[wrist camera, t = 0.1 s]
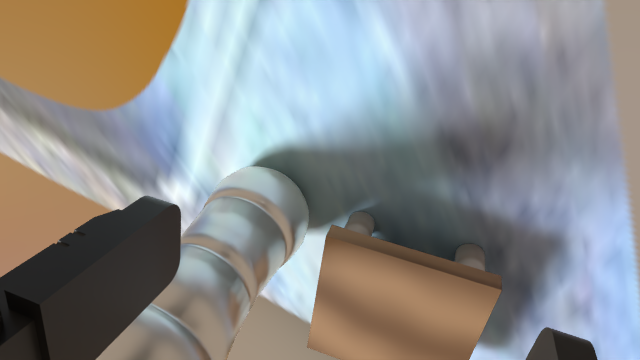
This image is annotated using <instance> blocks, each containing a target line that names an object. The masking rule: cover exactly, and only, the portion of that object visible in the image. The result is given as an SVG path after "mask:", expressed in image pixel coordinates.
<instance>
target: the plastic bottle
mask: <svg viewBox="0 0 640 360" xmlns="http://www.w3.org/2000/svg"><path fill="white" fill-rule="evenodd" d="M308 224H309V210H308V206H307V203H306V200H305V198H304V196H303V194H302V192H301V191H300V189H299V188H298V187H297V185H296V184H295V183H294V182H293V181H292V180H291V179H290V178H289V177H287V176H286V175H284V174H282V173H280V172H278V171H276V170H273V169H270V168H266V167H258V166H251V167H245V168H242V169H240V170H238V171H236V172H234V173H233V174H231V175H229V176H227V177H226V178H224V179H223V180H222V181H221V182H220V183H219V184H218V185H217V187H216V188H215V190H214V191H213V192H212V194H211V195H210V197H209V198H208V200H207V202H206V204H205V206H204V208H203V210H202V211H201V212H200V213H199V215H198V216H197V217H196V218H195V220H194V221H193V222H192V223H191V225H190V226H189V227H188V228H187V230H186V231H185V232H184V233H183V235H182V236H181V250H180V264H179V268H178V271H177V273H176V275H175V277H174V279H173V280H172V282H171V283H170V284H169V285H168V286H167V287H166V288H165V289H164V290H163V291H162V292H161V293H160V294H159V295H158V296H157V297H156V298H155V300H154V301H153V302H152V303H151V304H150V305H149V306H148V307H147V308H146V309H145V310H144V311H143V312H142V313H141V314H140V315H139V316H138V317H137V318H136V319H135V320H134V321H133V322H132V323H131V324H130V325H129V326H128V327H127V328H126V329H125V330H124V331H123V332H122V333H121V334H120V335H119V336H118V337H117V338H116V339H115V340H114V341H113V342H112V343H111V344H110V345H109V346H108V347H107V348H106V349H105V350H104V351H103V352H102V353H101V355H100V356H99V357H98V358H97V359H96V360H227V357H228V355H229V352H230V350H231V348H232V345H233V343H234V340H235V338H236V336H237V334H238V332H239V330H240V328H241V326H242V324H243V322H244V321H245V319H246V317H247V315H248V312H249V311H250V309H251V308H252V306H253V304H254V302H255V300H256V298H257V297H258V295H259V294H260V293H261V291H262V290H263V289H264V287H265V286H266V285H267V283H268V282H269V281H270V280H271V278H272V277H273V276H274V274H275V273H276V272H277V270H278V269H279V268H280V267H281V266H282V265H284V264H285V263H286V262H287V261H288V260H289V259H290V258H291V257H292V256H293V254H294V253H295V252H296V251H297V250H298V249H299V247H300V246H301V244H302V243H303V240H304V237H305V234H306V231H307V227H308Z"/></svg>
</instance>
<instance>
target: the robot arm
mask: <svg viewBox="0 0 640 360" xmlns="http://www.w3.org/2000/svg"><path fill="white" fill-rule="evenodd" d="M180 250H181V212H180V209H179V207H178V206H177V205H175V204H172V203H169V202H166V201H163V200H160V199H156V198H153V197H150V196H143V197H141V198H140V199H138V200H137V201H135V202H134V203H132V204H131V205H129V206H128V207H126V208H125V209H123V210H119V209H118V210H115V211H112V212H109V213H106V214H103V215H100V216H97V217H94V218H92V219H91V220H89V221H88V222H86V223H85V224H83V225H81V226H80V227H78V228H77V229H75V230H74V233H69V234H68V235H66V236H64V237H63V238H61V239H60V240H58V242H57V244H52V245H50V246H49V247H47V248H46V249H44V250H42V251H41V252H40V253H38V254H36V255H35V256H33V257H32V258H30V259H28V260H27V261H25V262H24V263H22V264H21V265H19V266H18V267H16V268H14V269H13V270H11V271H10V272H8V273H7V274H5V275H4V276H2V277H0V360H96V359H97V358H98V357H99V356H100V355H101V353H102V352H103V351H104V350H105V349H106V348H107V347H108V346H109V345H110V344H111V343H112V342H113V341H114V340H115V339H116V338H117V337H118V336H119V335H120V334H121V333H122V332H123V331H124V330H125V329H126V328H127V327H128V326H129V325H130V324H131V323H132V322H133V321H134V320H135V319H136V318H137V317H138V316H139V315H140V314H141V313H142V312H143V311H144V310H145V309H146V308H147V307H148V306H149V305H150V304H151V303H152V302H153V301H154V300H155V298H156V297H157V296H158V295H159V294H160V293H161V292H162V291H163V290H164V289H165V288H166V287H167V286H168V285H169V284H170V283H171V282H172V280H173V279H174V277H175V275H176V273H177V271H178V268H179V264H180ZM526 360H597V356H596V353H595V350H594V347H593V345H592V344H591V342H590V341H588V340H585V339H582V338H579V337H575V336H572V335H569V334H566V333H563V332H560V331H557V330H554V329H551V328H548V327H547V328H544V329H543V330H542V331H541V332H540V334H539V336H538V338H537V339H536V341H535V343H534V345H533V347H532V349H531V350H530V352H529V354H528V356H527V358H526Z"/></svg>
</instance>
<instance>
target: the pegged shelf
mask: <svg viewBox="0 0 640 360" xmlns="http://www.w3.org/2000/svg"><path fill="white" fill-rule="evenodd" d="M374 227H375V222H374V219H373V218H372V217H371V216H370V215H369V214H368V213H365V212H361V211H358V212H354V213H353V214H352V215H351V216H350V217H349V219H348V222H347V224H346V226H345V228H341V227H338V226H335V225H332V226H331V228H330V230H329V231H328V233H327V235H326V240H325V245H324V251H323V257H322V263H321V269H320V275H319V280H318V286H317V292H316V298H315V304H314V310H313V316H312V321H311V327H310V333H309V339H308V345H307V347H308V348H310V349H313V350H316V351H319V352H321V353H324V354H327V355H329V356H332V357H335V358H338V359H340V360H469V359H470V357H471V354H472V352H473V350H474V348H475V346H476V344H477V342H478V340H479V338H480V335H481V333H482V331H483V329H484V327H485V325H486V323H487V321H488V319H489V316H490V314H491V312H492V310H493V308H494V306H495V304H496V302H497V300H498V297H499V295H500V293H501V291H502V282H501V276H500V275H496V274H493V273H490V272H486V271H485V253H484V251H483V249H482V248H480V247H479V246H477V245H475V244H463V245H461V246H459V247H458V248H457V250H456V252H455V262H453V261H450V260H447V259H444V258H440V257H437V256H434V255H430V254H427V253H424V252H421V251H417V250H414V249H411V248H407V247H404V246H401V245H397V244H394V243H391V242H388V241H384V240H381V239H378V238H374V237H371V235H372V233H373V230H374Z"/></svg>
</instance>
